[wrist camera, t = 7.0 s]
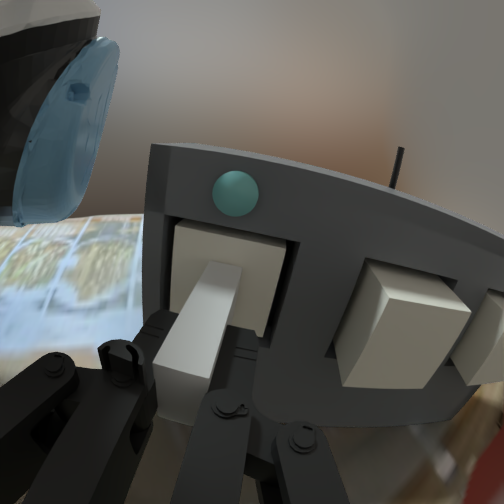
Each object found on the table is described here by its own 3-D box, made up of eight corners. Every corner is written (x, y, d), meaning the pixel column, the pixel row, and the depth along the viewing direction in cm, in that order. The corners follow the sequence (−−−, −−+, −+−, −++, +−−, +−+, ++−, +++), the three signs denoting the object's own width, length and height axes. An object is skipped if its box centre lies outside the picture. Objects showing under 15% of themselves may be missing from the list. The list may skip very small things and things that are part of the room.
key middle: (422, 388, 11) (471, 312, 9) (342, 386, 11) (389, 297, 9) (401, 343, 15) (436, 274, 13) (331, 335, 15) (362, 256, 13)
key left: (262, 337, 14) (286, 248, 12) (169, 315, 14) (175, 225, 12) (266, 297, 17) (284, 223, 16) (190, 280, 18) (199, 206, 16)
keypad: (452, 422, 16) (551, 266, 10) (147, 396, 16) (147, 143, 10) (431, 377, 22) (505, 235, 15) (174, 341, 22) (192, 143, 16)
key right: (504, 381, 11) (541, 323, 9) (466, 385, 11) (510, 318, 9) (482, 348, 15) (512, 294, 13) (444, 347, 15) (477, 285, 13)
